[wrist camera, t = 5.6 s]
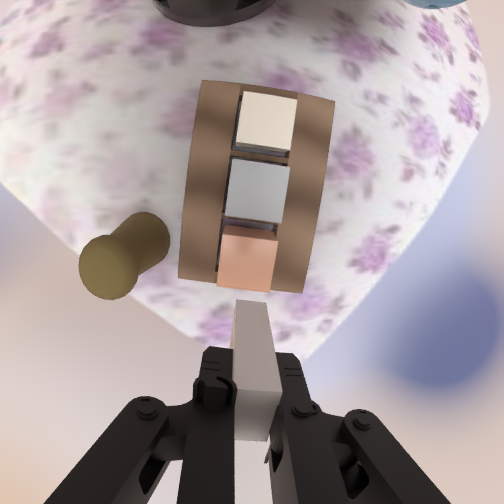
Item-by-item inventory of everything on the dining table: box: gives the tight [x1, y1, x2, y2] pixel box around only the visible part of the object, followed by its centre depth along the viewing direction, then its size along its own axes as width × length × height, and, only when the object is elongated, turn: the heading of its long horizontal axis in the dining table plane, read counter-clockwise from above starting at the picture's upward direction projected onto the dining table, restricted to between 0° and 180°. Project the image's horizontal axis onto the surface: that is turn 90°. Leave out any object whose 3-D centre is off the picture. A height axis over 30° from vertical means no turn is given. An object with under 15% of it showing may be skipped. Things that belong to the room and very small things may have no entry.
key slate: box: [225, 159, 290, 223], centre depth 24 cm, size 4×4×4 cm
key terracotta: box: [217, 225, 278, 292], centre depth 26 cm, size 4×4×4 cm
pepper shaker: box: [79, 212, 170, 300], centre depth 24 cm, size 6×6×11 cm
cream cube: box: [236, 91, 297, 153], centre depth 24 cm, size 4×4×4 cm
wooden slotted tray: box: [178, 80, 335, 293], centre depth 28 cm, size 20×13×2 cm, turn 172°
